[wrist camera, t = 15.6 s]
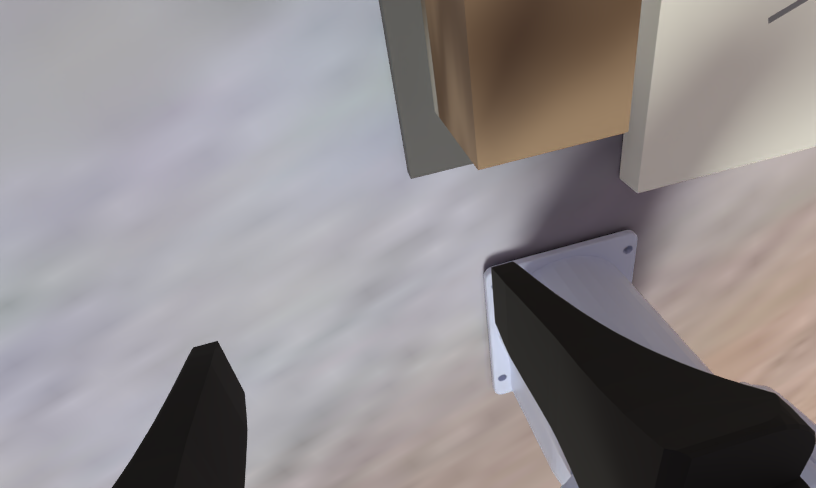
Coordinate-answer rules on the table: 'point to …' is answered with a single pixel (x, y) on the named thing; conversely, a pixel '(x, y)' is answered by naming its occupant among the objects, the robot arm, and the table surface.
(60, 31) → the table surface
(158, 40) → the table surface
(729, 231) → the table surface
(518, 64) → the block
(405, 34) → the mat
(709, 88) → the board
